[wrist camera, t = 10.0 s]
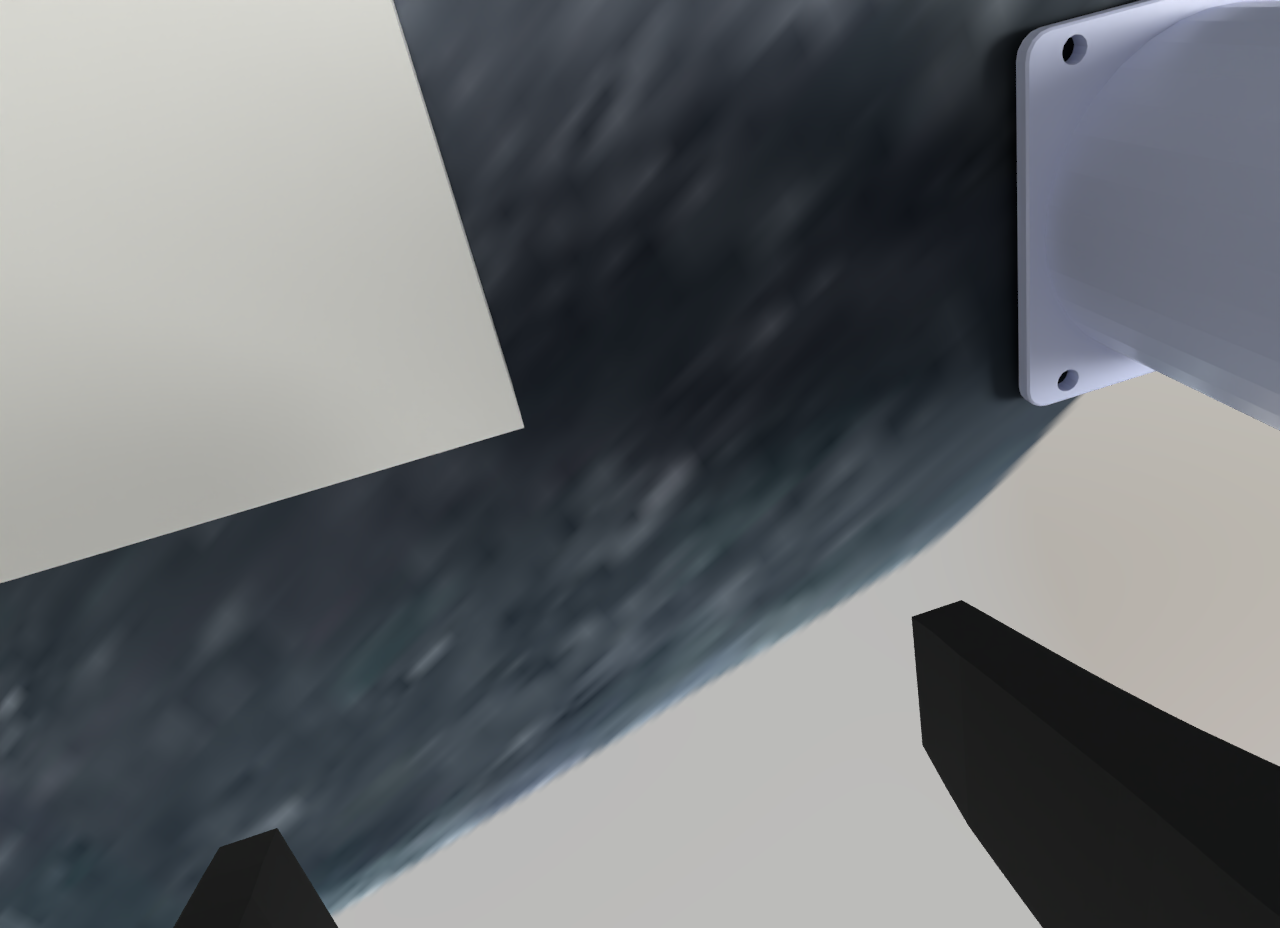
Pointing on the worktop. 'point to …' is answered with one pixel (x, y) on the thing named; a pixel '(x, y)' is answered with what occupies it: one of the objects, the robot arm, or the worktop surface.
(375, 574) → the worktop surface
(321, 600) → the worktop surface
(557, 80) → the worktop surface
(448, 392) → the board
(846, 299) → the worktop surface
